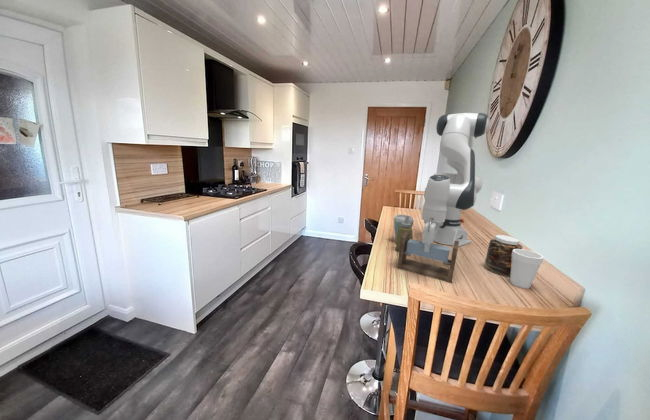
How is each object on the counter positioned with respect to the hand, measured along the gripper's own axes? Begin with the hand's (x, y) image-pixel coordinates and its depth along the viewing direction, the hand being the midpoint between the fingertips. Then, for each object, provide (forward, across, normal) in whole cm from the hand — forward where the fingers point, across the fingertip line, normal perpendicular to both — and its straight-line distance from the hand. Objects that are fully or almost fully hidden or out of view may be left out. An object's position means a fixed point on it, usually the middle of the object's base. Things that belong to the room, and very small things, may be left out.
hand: (428, 248), depth 104 cm
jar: (+10, +21, -28) cm, 37 cm away
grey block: (+4, 0, 0) cm, 4 cm away
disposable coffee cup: (+10, +29, +17) cm, 35 cm away
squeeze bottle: (+10, +17, +13) cm, 24 cm away
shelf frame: (+10, 0, 0) cm, 10 cm away
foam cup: (+10, +10, -34) cm, 37 cm away
